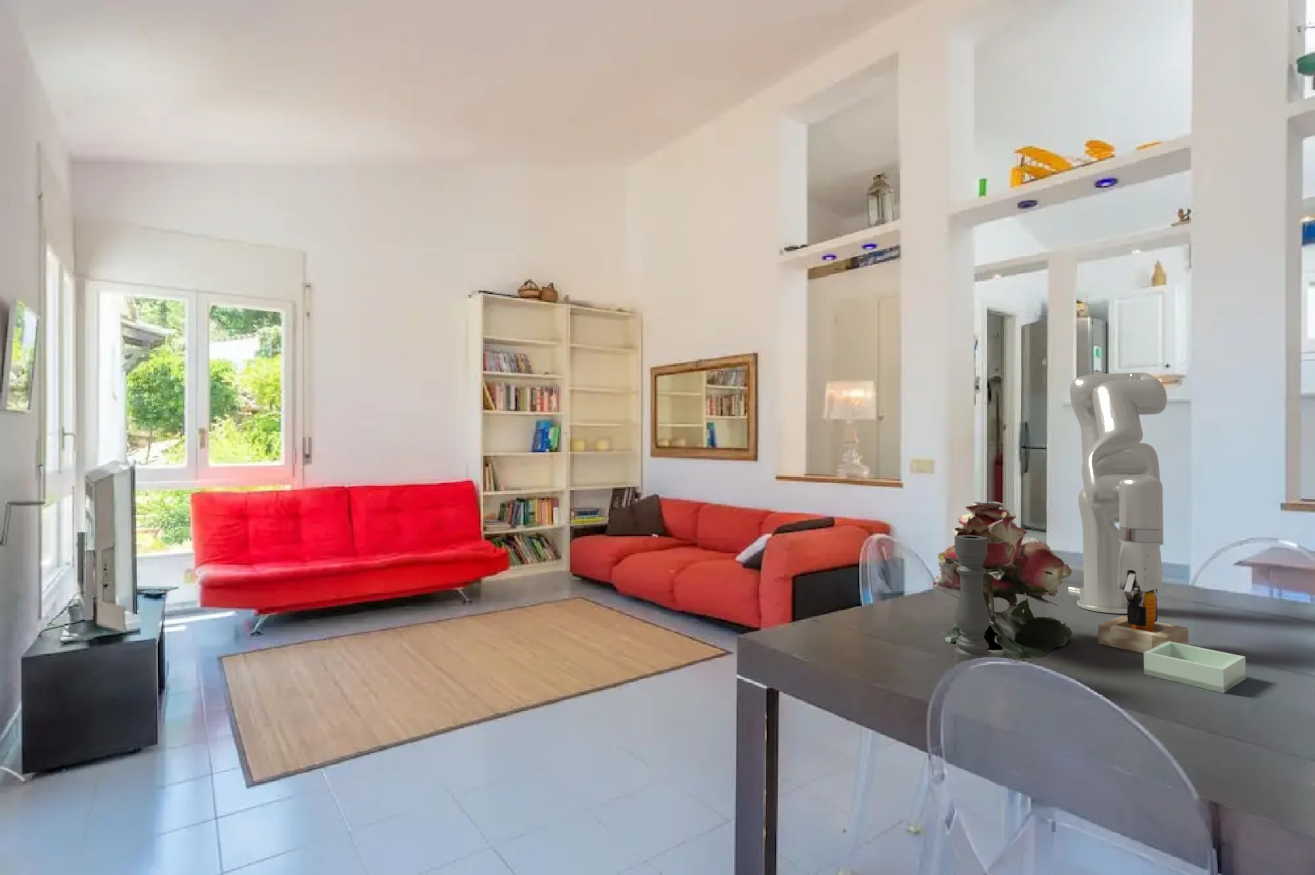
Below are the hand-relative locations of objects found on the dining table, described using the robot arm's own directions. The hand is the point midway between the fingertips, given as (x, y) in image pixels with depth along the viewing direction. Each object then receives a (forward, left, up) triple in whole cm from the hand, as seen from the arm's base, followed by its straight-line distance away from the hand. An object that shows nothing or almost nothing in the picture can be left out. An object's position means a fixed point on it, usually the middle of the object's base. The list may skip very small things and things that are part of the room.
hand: (1142, 621), depth 141 cm
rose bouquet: (-21, -19, -5) cm, 29 cm away
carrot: (0, 0, -5) cm, 5 cm away
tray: (+13, -14, -5) cm, 20 cm away
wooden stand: (0, 0, -5) cm, 5 cm away
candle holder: (-13, -42, -5) cm, 44 cm away
